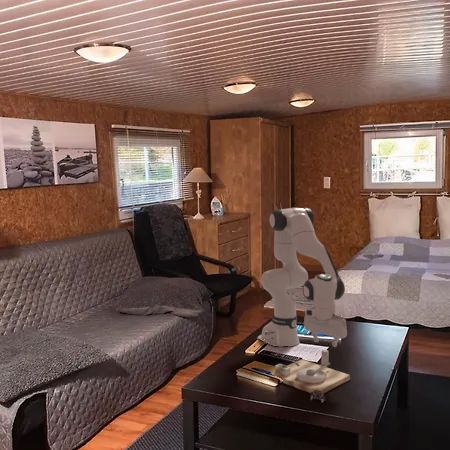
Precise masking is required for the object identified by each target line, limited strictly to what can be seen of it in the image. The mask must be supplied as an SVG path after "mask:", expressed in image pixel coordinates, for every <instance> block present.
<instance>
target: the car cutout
mask: <svg viewBox="0 0 450 450" xmlns="http://www.w3.org/2000/svg"><path fill="white" fill-rule="evenodd" d="M309 397H310V401H312V400H317V401H321V403H324V402H325V401H326V400H327V399H326V395H325V393H324V394H322V392H321V391H319V390H314V392H311V393H310V396H309Z"/></svg>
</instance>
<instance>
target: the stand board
mask: <svg viewBox="0 0 450 450" xmlns="http://www.w3.org/2000/svg"><path fill="white" fill-rule="evenodd" d="M320 365H321V364H316V363H315V362H312V361H308V360H305V359H301V358H300V359H298V360H297V361H294V362H292V363H290V364H288V365H285V364H282V363H278V364H276V365H275V366H274V367H275V368H274V371H272V372H270V373H269V375H270V374H272V375H274V376H277V377H279V378H281V379H282V380H283V384H286V385H288V386H291V387H293V388H295V389H298V390H301V391H304V392H307V393H308V394H309V393H310V394H311V392H314V390H319V391H321V392H322V394H324V395H325V393H327V392H329V391H331V390H333V389H334V388H336V387H338V386H341V385H343V384H344V383H346V382H348V381H350V380H351V375H350V374H349V373H345V372H342V371H339V370H335V369H333V368H329V367H327V368H325V369H323V370H321V371H323V372H324V373H325V380H324V381H323V382H320V383H313V384H312V383H304V382H301V381H299V380H298V379H297V377H296V373H297V371H299V370H301V369H306V368H313V369H314V368H316V367H318V366H320Z"/></svg>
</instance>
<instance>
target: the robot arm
mask: <svg viewBox="0 0 450 450" xmlns="http://www.w3.org/2000/svg"><path fill="white" fill-rule="evenodd" d="M314 223H315V216H314V212H313V210H312V209H311V208H308V207H289V208H282V209H280V208H279V209H275V210H272V211H271V213H270V214H269V226H270V228H271V229H272V230H273V231H274V235H273V236H274V237H273V238H274V239H273V255H274V257H275V259H276V260H277V261H280V262H281V263H282V267H281V268H274V269H269V270H267V271H264V272H263V273H262V275H261V277H260V283H261V286H262V288H263V289H264V290H265V291H267V293H269V294H270V296H271V298H272V300H273V311H274V314H272V315H270V319H272V320H271V321H270V322H268V323H267V324H266V325H265V326H264V327H263V328H262V331H261V334H259V336H257V340H258V339H262V340H264V339H265V340H264V341H265V342H266V343H265V342H264V343H265V344H267V343H268V344H267V345H269V344H270V345H269V346H271V345H273V346H279V347H283V346H288V347H293V346H297V345H299V344H300V339H299V335H298V328H297V324H298V316H297V302H296V300H295V298H293V296H290V295H288V292H287V290H291V289H298V288H301V287H302V294H303V296H304V298H305V299H307V300H308V301H310V302H314V304H313V305H314V307H310V308H307V309H305V310H304V314H305V315H304V320H303V321H304V322H303V326H304V329H305V330H306V331H309V332H311V335H312V337H313V341H314V342H315V343H319V342H320V337H319V336H318V334H322V335H324V336H325V335H326V336H329V337H333V340H334V341H332V342H331V347H334V348H336V347H338V342H339V340H340V339H345V338H346V337H347V335H348V329H347V319H346V318H345V317H344V316H342V315H338V314H337V313H336V302H335V301H336V300H340V299H341V298H342V297H343V296H344V294H345V292H346V286H345V284H344V281H343V280H342V278H341V276H340V275H339V273H338V270H337V269H336V266H335V264H334V262H333V259H332V256H331V255H330V252H329V250H328V248H327V247H326V246H325V245H324V244H322V243H321V241H319V238H318V237H317V236H316V231H315V228H314ZM297 252H298V253H299V254H300V255H302V256H305V257H310V258H312V259H315V260H316V261H318V262H319V263H320V264H321V266H322V269H323V272H324V273H319V274H317V275H315V277H314V278H311V279H309V274H308V271H307V270H306V269H305V267H303V266H302V265H301V264H300V262H299V260H298V257H297ZM273 346H272V347H273Z"/></svg>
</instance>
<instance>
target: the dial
mask: <svg viewBox="0 0 450 450" xmlns="http://www.w3.org/2000/svg"><path fill="white" fill-rule="evenodd" d="M320 353H321V357H320V358H321V361H320V363H321V364H319V365H320V366H318V367H316V368H314V369H313V368H306V369H301V370H299V371H297V373H296V377H297V379H298V380H299V381H301V382H304V383H312V384H313V383H320V382H323V381H324V380H325V373H324V372H323V371H321V370H323V369H325V368H328V366H330V365H331V362H329V358H330V357H329V354H330V353H329V350H327V349H322V350H321V352H320Z"/></svg>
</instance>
